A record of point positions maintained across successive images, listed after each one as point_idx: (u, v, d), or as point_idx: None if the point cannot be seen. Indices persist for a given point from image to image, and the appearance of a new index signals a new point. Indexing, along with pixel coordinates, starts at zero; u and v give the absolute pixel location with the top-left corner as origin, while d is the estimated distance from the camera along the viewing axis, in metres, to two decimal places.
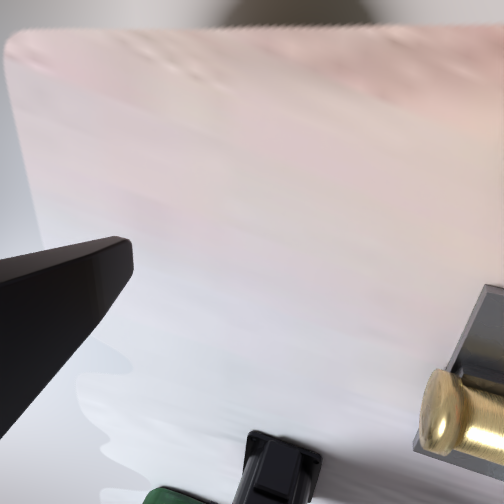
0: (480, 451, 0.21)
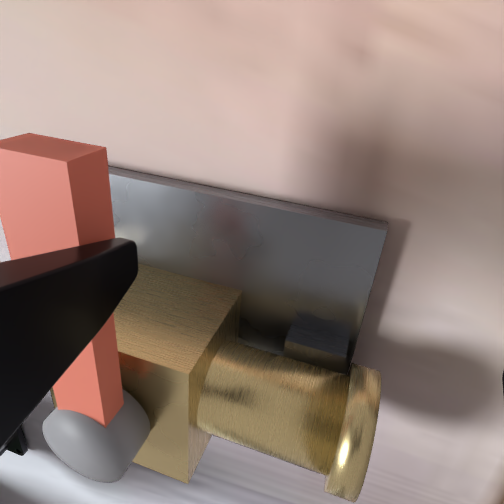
0: None
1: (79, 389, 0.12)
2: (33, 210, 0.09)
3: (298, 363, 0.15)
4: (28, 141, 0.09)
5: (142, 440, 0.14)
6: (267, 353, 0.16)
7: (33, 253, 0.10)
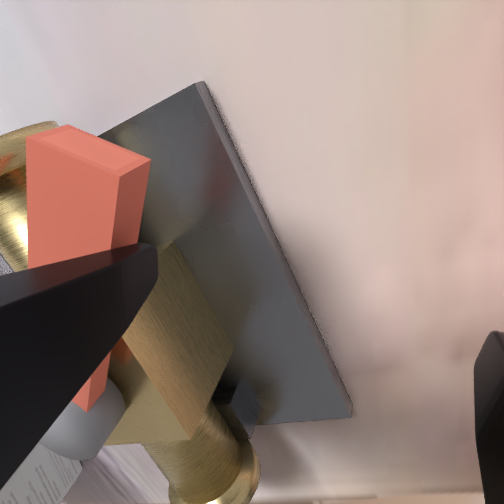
0: None
1: None
2: (67, 210, 0.09)
3: (225, 426, 0.19)
4: (71, 138, 0.09)
5: (116, 424, 0.14)
6: (213, 405, 0.19)
7: (55, 249, 0.10)
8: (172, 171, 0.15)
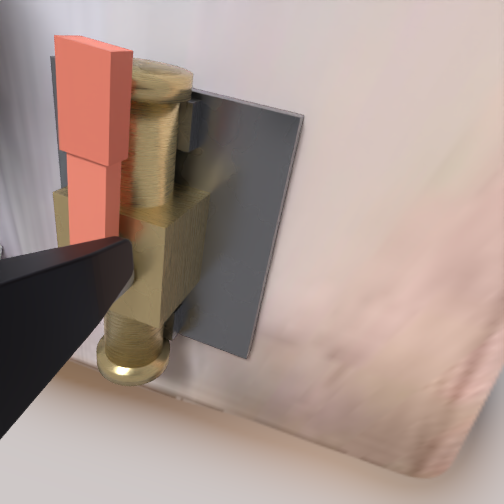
0: None
1: (89, 230, 0.17)
2: (81, 85, 0.14)
3: (163, 325, 0.25)
4: (82, 39, 0.14)
5: (128, 283, 0.19)
6: None
7: (75, 117, 0.15)
8: (243, 153, 0.20)
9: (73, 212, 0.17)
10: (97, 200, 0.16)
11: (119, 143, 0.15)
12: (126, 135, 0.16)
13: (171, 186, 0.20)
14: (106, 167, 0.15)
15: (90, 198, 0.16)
